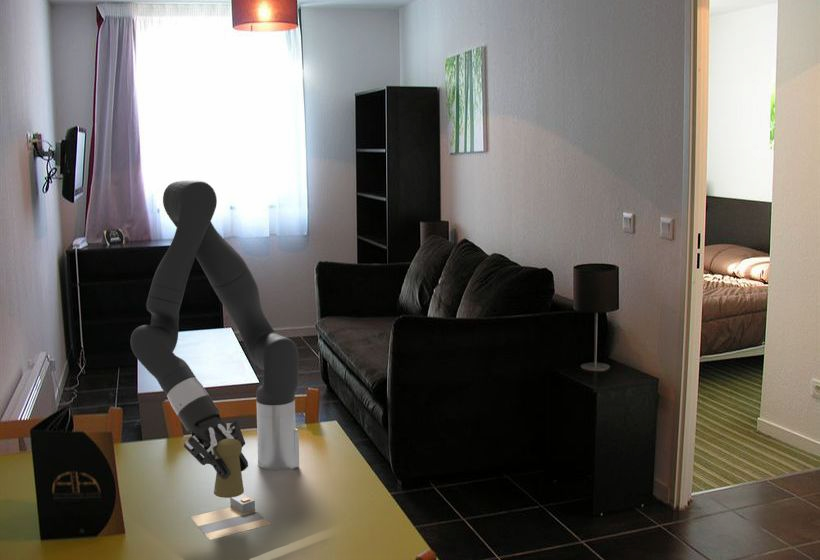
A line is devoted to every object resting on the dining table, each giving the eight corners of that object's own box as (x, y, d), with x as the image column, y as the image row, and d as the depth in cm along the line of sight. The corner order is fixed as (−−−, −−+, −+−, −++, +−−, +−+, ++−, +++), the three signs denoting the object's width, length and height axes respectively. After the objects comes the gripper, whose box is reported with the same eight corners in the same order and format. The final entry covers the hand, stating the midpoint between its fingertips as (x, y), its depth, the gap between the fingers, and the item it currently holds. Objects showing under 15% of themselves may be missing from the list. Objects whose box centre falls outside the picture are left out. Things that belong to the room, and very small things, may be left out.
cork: (249, 488, 173) (249, 437, 171) (234, 499, 167) (234, 447, 165) (223, 484, 175) (223, 433, 173) (208, 495, 169) (207, 442, 167)
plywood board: (249, 508, 182) (248, 502, 181) (270, 529, 172) (270, 524, 171) (190, 522, 175) (190, 516, 174) (209, 545, 165) (209, 539, 165)
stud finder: (242, 501, 182) (242, 491, 182) (254, 509, 178) (254, 499, 178) (230, 505, 180) (230, 495, 180) (242, 513, 176) (242, 503, 176)
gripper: (175, 403, 166) (220, 474, 161) (226, 386, 178) (269, 452, 173) (157, 423, 169) (201, 494, 165) (209, 406, 181) (251, 471, 177)
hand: (236, 472), depth 169 cm, fingers closed on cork, 4 cm apart
